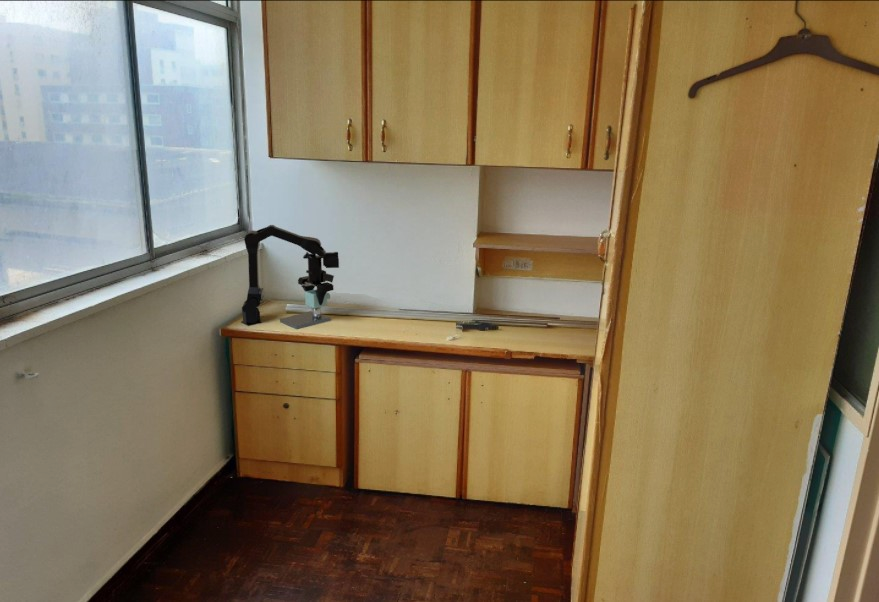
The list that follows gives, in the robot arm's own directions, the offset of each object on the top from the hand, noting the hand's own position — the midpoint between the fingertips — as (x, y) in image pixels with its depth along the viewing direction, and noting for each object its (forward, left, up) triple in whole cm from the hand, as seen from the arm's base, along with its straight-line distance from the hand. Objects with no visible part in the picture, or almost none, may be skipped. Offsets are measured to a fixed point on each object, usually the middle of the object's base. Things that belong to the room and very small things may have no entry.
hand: (316, 303), depth 279 cm
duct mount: (-4, +2, -8) cm, 9 cm away
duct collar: (+2, 0, -1) cm, 2 cm away
